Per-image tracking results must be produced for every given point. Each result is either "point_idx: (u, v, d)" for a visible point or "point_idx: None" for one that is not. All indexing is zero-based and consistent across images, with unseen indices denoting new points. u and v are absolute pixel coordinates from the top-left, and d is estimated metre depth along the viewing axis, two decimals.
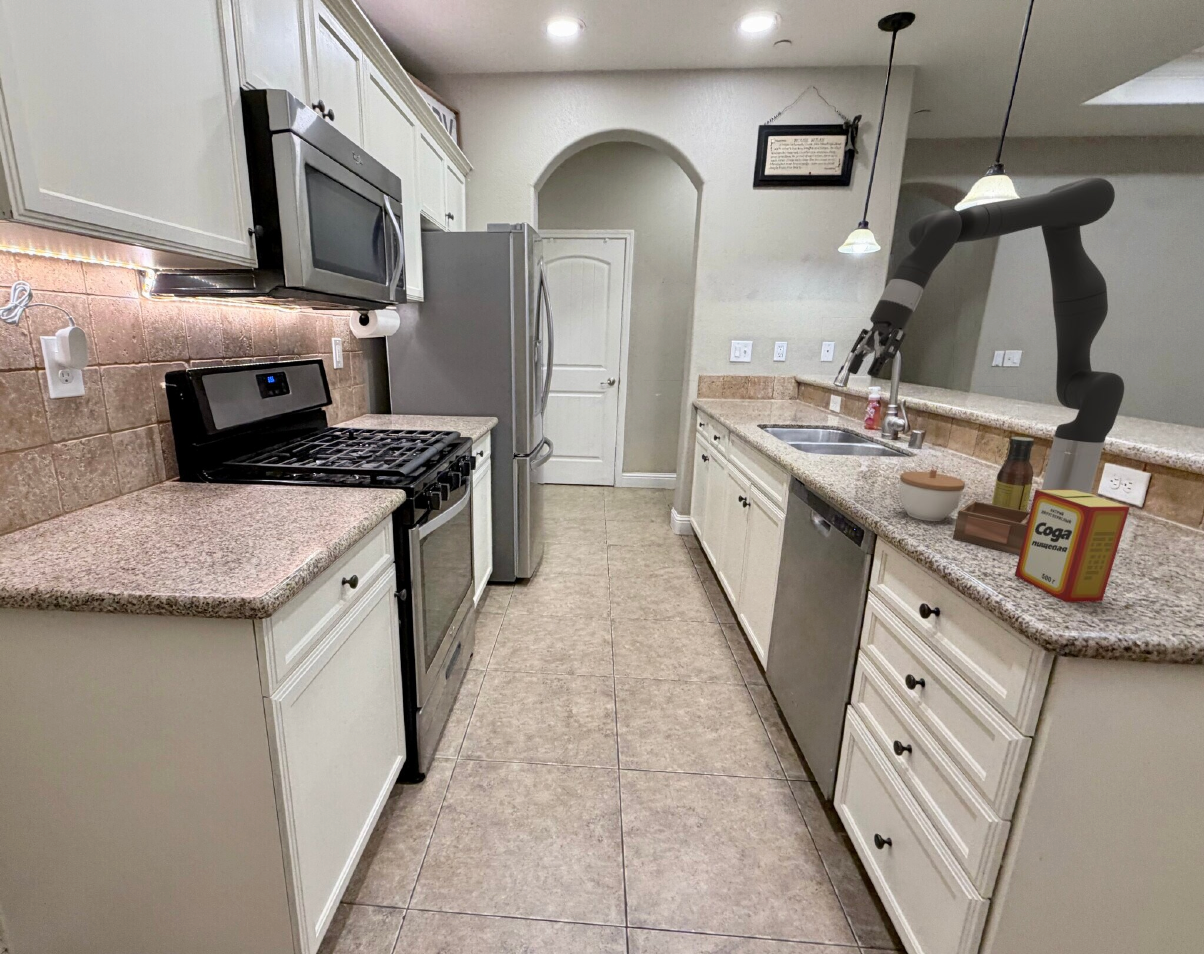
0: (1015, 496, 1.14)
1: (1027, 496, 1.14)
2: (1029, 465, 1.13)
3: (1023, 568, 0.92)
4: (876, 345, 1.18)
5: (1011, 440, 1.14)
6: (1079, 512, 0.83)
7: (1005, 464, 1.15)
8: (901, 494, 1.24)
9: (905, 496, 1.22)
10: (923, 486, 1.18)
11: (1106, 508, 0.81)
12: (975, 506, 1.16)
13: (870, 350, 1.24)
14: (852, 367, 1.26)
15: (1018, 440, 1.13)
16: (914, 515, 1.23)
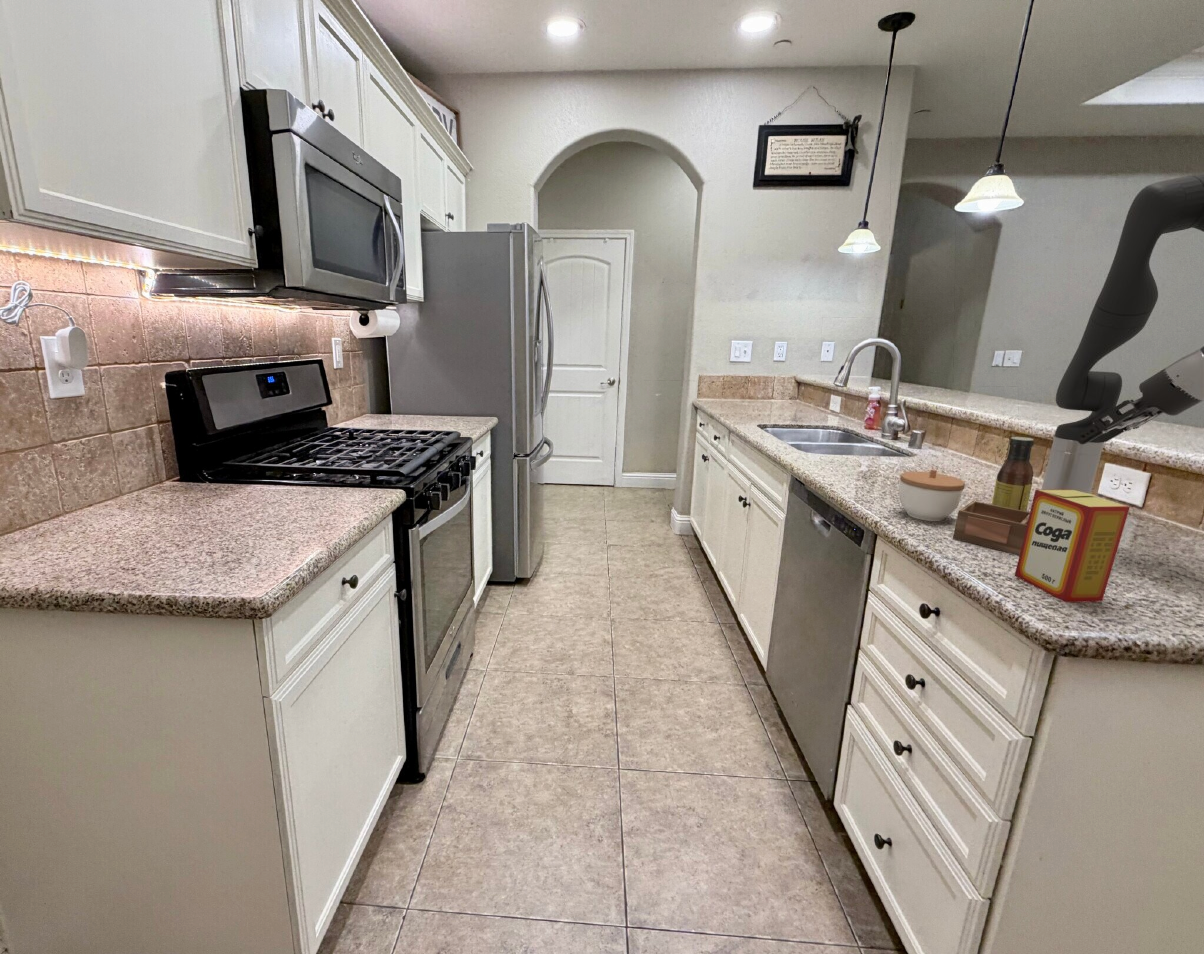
0: (1015, 496, 1.14)
1: (1027, 496, 1.14)
2: (1029, 465, 1.13)
3: (1023, 568, 0.92)
4: (1138, 425, 1.00)
5: (1011, 440, 1.14)
6: (1079, 512, 0.83)
7: (1005, 464, 1.15)
8: (901, 494, 1.24)
9: (905, 496, 1.22)
10: (923, 486, 1.18)
11: (1106, 508, 0.81)
12: (975, 506, 1.16)
13: None
14: None
15: (1018, 440, 1.13)
16: (914, 515, 1.23)
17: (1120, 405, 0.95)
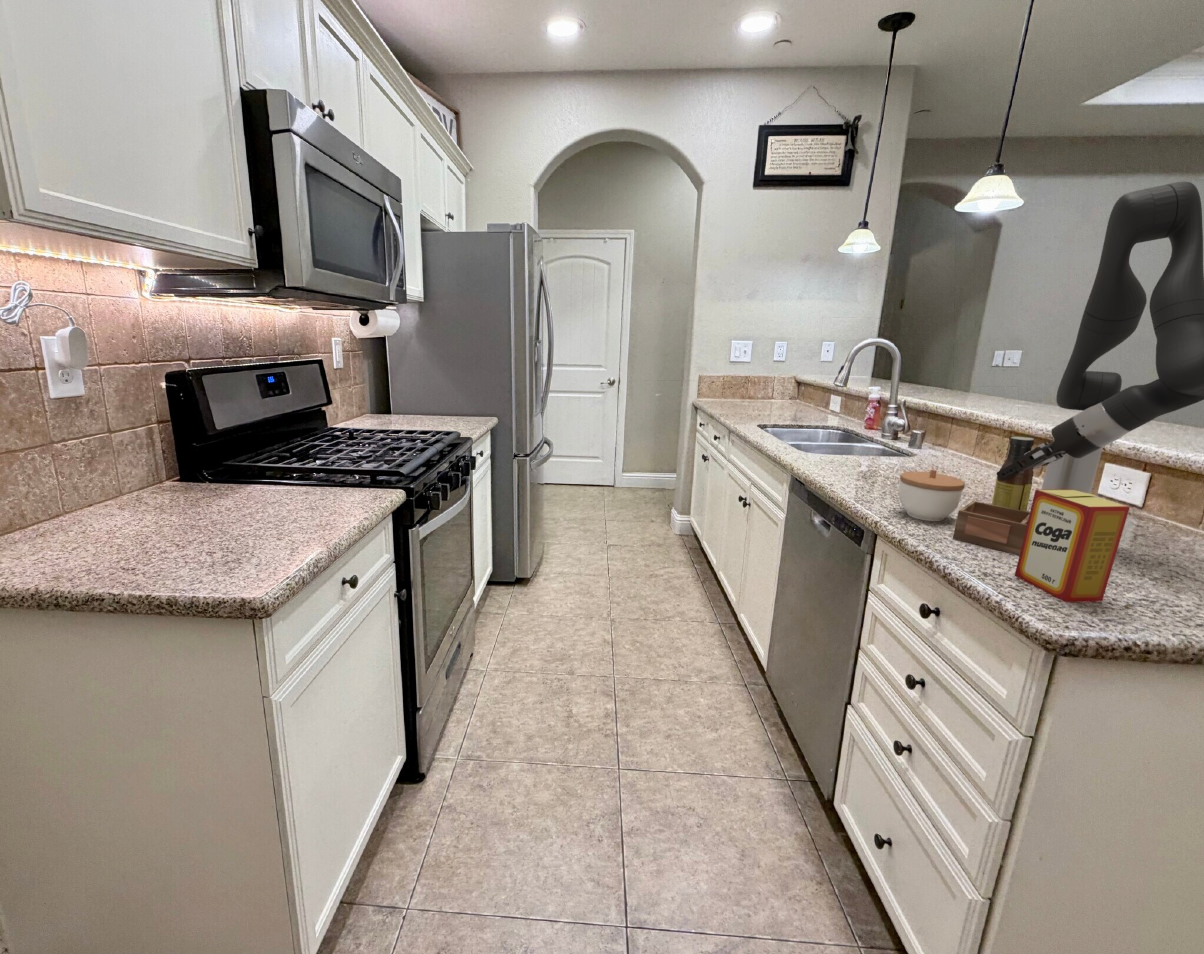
0: (1015, 496, 1.14)
1: (1027, 496, 1.14)
2: None
3: (1023, 568, 0.92)
4: (1047, 464, 1.13)
5: (1011, 440, 1.14)
6: (1079, 512, 0.83)
7: (1005, 464, 1.15)
8: (901, 494, 1.24)
9: (905, 496, 1.22)
10: (923, 486, 1.18)
11: (1106, 508, 0.81)
12: (975, 506, 1.16)
13: None
14: None
15: (1018, 440, 1.13)
16: (914, 515, 1.23)
17: (1032, 451, 1.07)
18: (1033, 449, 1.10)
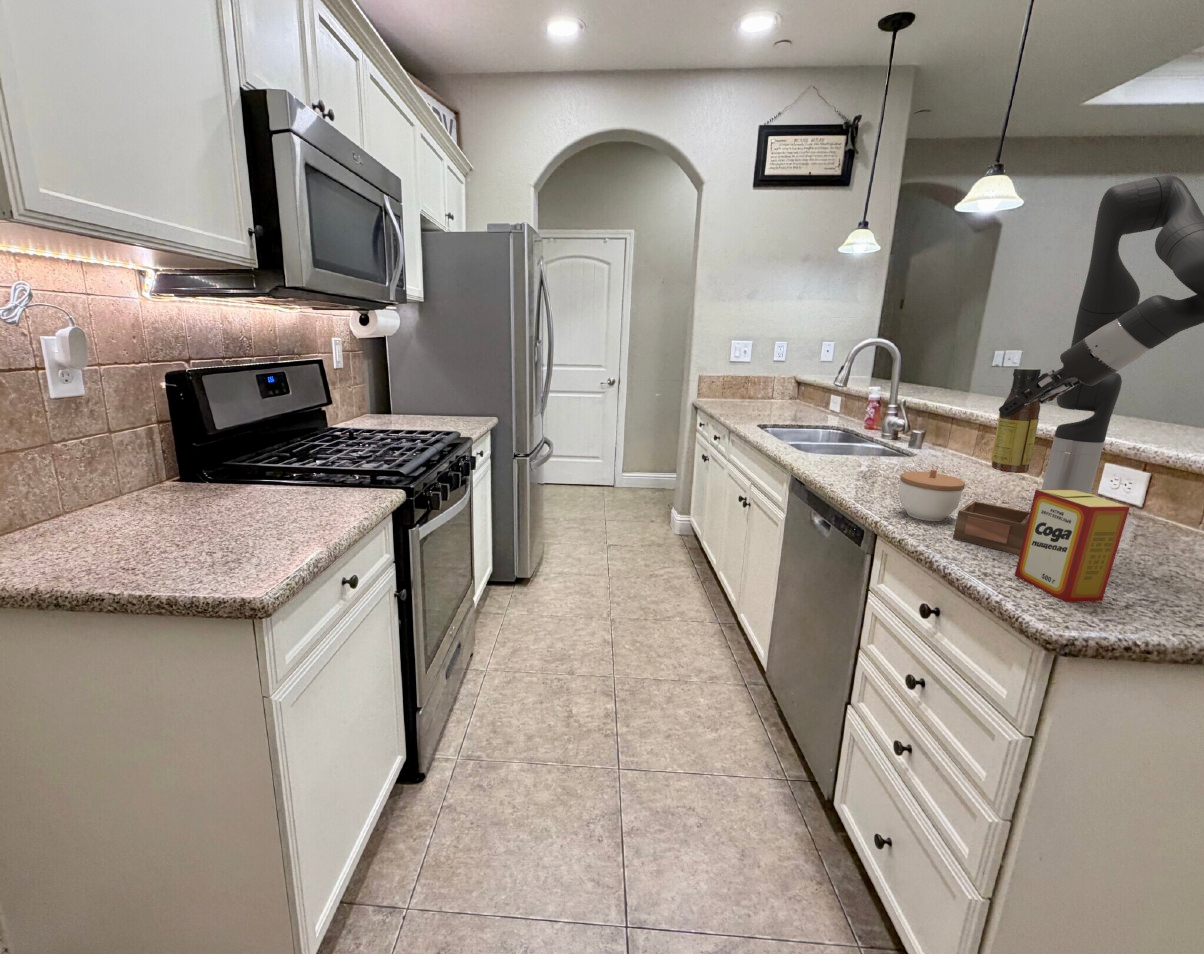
0: (1020, 433, 1.02)
1: (1033, 433, 1.02)
2: None
3: (1023, 568, 0.92)
4: (1055, 397, 1.01)
5: (1015, 371, 1.03)
6: (1079, 512, 0.83)
7: (1008, 398, 1.04)
8: (901, 494, 1.24)
9: (905, 496, 1.22)
10: (923, 486, 1.18)
11: (1106, 508, 0.81)
12: (975, 506, 1.16)
13: None
14: None
15: (1023, 370, 1.01)
16: (914, 515, 1.23)
17: (1039, 378, 0.95)
18: None
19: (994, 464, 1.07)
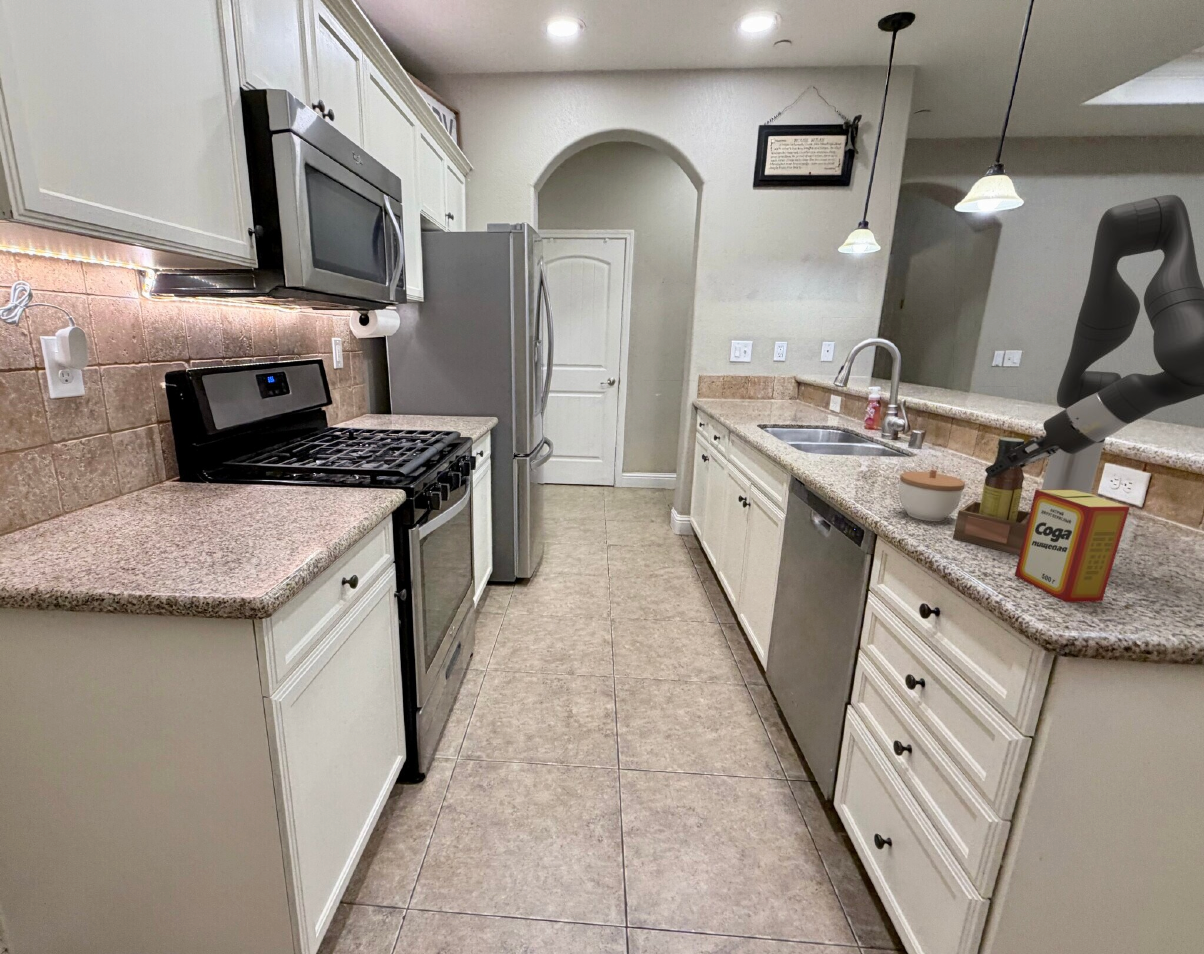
0: (1004, 502, 1.06)
1: (1017, 501, 1.06)
2: (1019, 468, 1.05)
3: (1023, 568, 0.92)
4: (1042, 459, 1.05)
5: (1000, 441, 1.06)
6: (1079, 512, 0.83)
7: None
8: (901, 494, 1.24)
9: (905, 496, 1.22)
10: (923, 486, 1.18)
11: (1106, 508, 0.81)
12: (975, 506, 1.16)
13: None
14: None
15: (1007, 441, 1.04)
16: (914, 515, 1.23)
17: (1026, 444, 0.98)
18: None
19: None
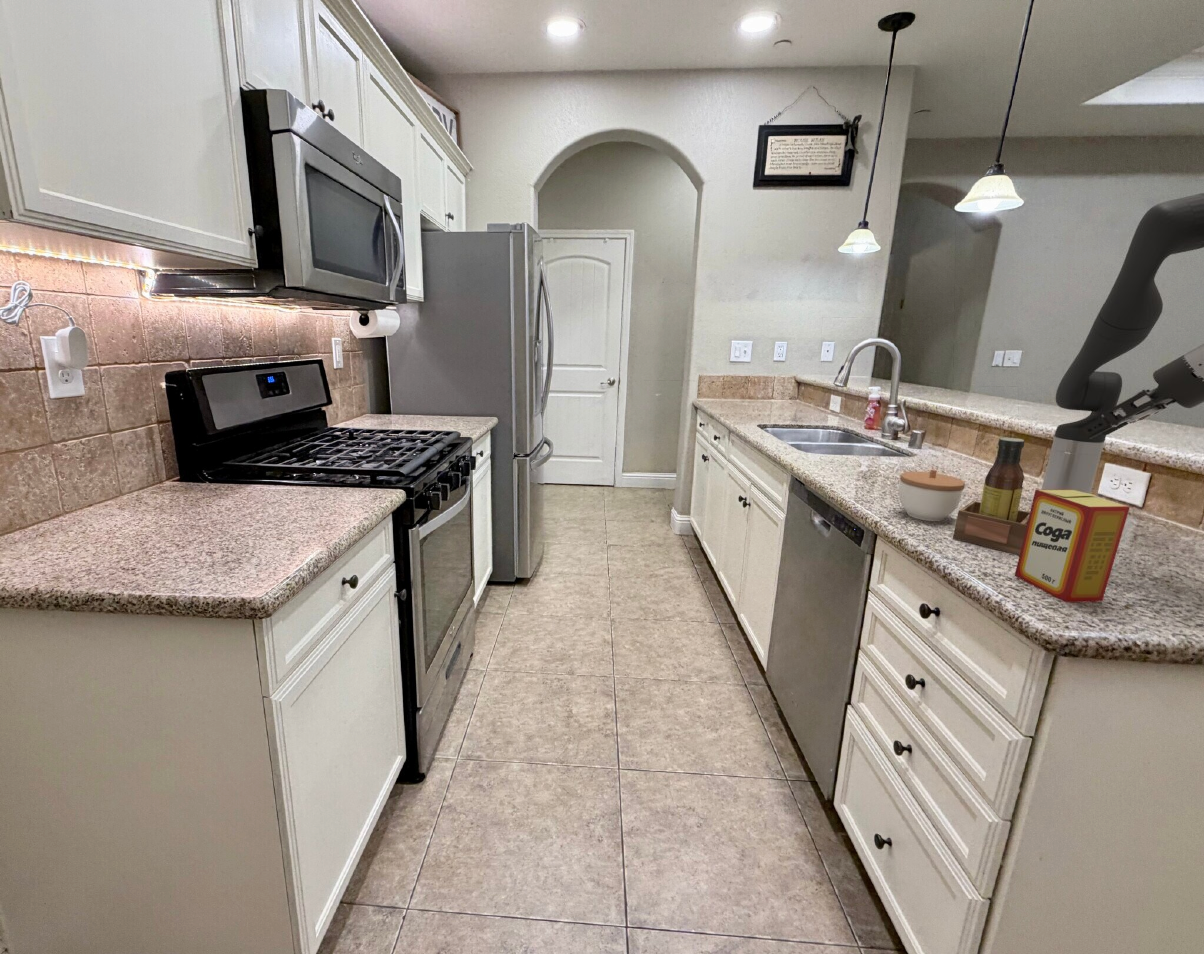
0: (1004, 502, 1.06)
1: (1017, 501, 1.06)
2: (1019, 468, 1.05)
3: (1023, 568, 0.92)
4: (1146, 417, 0.92)
5: (1000, 441, 1.06)
6: (1079, 512, 0.83)
7: (993, 467, 1.07)
8: (901, 494, 1.24)
9: (905, 496, 1.22)
10: (923, 486, 1.18)
11: (1106, 508, 0.81)
12: (975, 506, 1.16)
13: None
14: None
15: (1007, 441, 1.04)
16: (914, 515, 1.23)
17: (1135, 397, 0.85)
18: (1129, 398, 0.89)
19: None
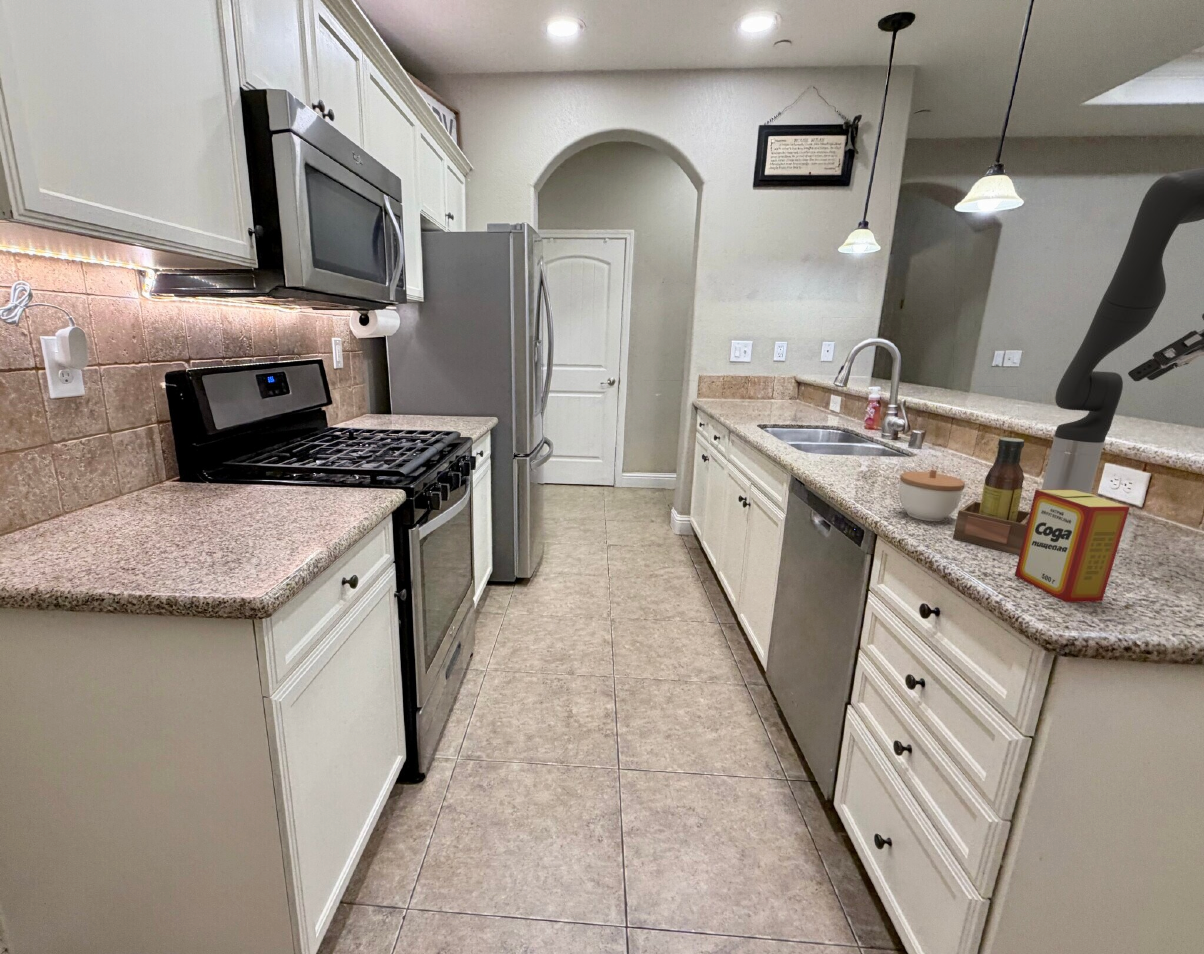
0: (1004, 502, 1.06)
1: (1017, 501, 1.06)
2: (1019, 468, 1.05)
3: (1023, 568, 0.92)
4: (1193, 360, 0.95)
5: (1000, 441, 1.06)
6: (1079, 512, 0.83)
7: (993, 467, 1.07)
8: (901, 494, 1.24)
9: (905, 496, 1.22)
10: (923, 486, 1.18)
11: (1106, 508, 0.81)
12: (975, 506, 1.16)
13: None
14: None
15: (1007, 441, 1.04)
16: (914, 515, 1.23)
17: (1186, 336, 0.89)
18: None
19: None
